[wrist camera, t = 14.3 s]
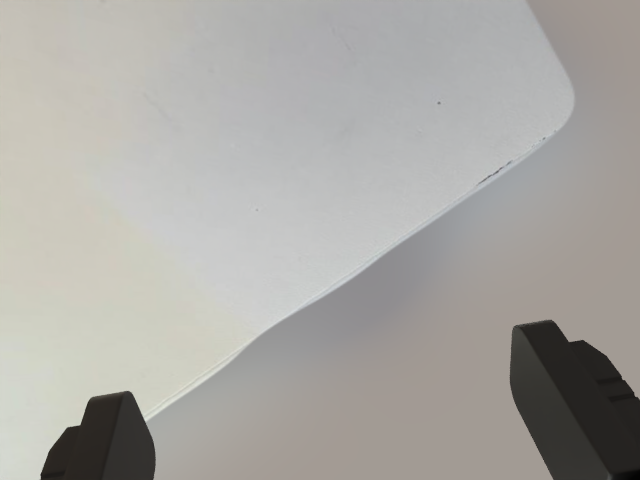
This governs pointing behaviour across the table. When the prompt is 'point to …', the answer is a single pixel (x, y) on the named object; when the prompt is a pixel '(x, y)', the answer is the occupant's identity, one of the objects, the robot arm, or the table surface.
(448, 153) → the table surface
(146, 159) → the table surface
